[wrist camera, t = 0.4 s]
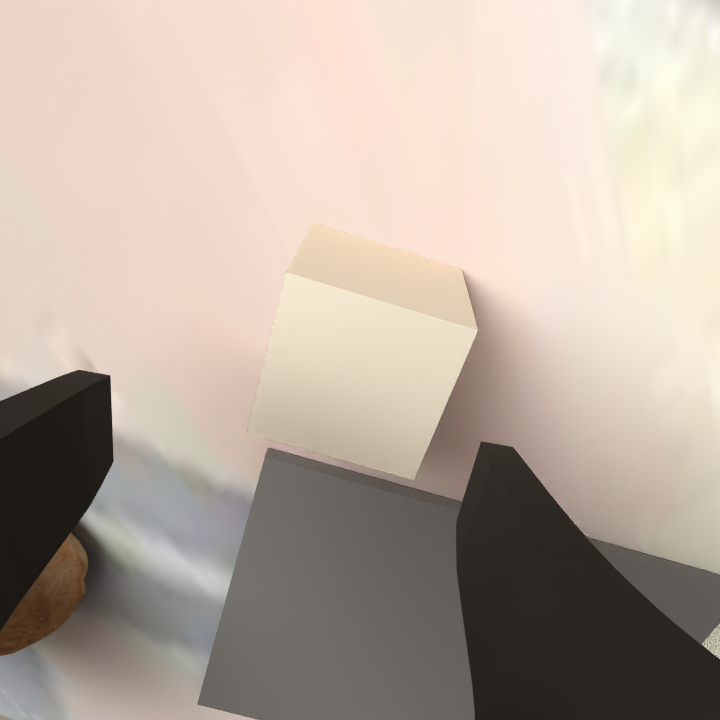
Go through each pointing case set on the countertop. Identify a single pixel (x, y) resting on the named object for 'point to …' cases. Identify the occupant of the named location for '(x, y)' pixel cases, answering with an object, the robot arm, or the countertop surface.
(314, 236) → the cream cube
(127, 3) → the countertop surface
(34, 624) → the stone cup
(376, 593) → the charcoal mat
